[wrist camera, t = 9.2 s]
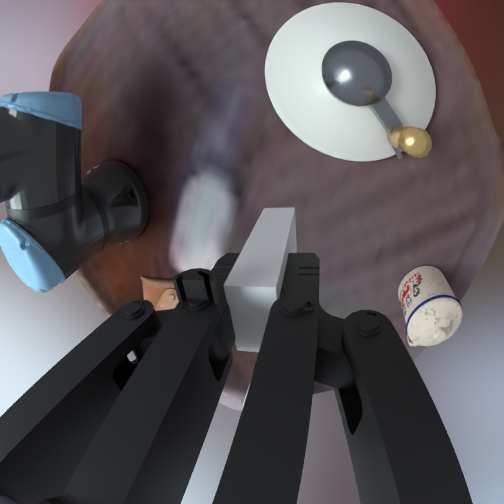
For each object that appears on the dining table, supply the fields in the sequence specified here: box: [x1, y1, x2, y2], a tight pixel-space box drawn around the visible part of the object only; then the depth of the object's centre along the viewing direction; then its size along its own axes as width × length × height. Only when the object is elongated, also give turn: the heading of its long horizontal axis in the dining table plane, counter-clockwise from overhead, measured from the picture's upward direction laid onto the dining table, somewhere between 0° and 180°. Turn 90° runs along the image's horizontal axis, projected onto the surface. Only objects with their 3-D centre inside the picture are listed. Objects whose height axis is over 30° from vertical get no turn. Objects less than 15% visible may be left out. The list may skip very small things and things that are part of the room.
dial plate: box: [265, 3, 436, 161], centre depth 27 cm, size 22×22×2 cm
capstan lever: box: [322, 40, 432, 158], centre depth 23 cm, size 14×8×8 cm, turn 42°
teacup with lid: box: [398, 266, 463, 346], centre depth 34 cm, size 12×9×12 cm
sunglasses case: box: [140, 276, 179, 311], centre depth 50 cm, size 18×7×7 cm, turn 101°
